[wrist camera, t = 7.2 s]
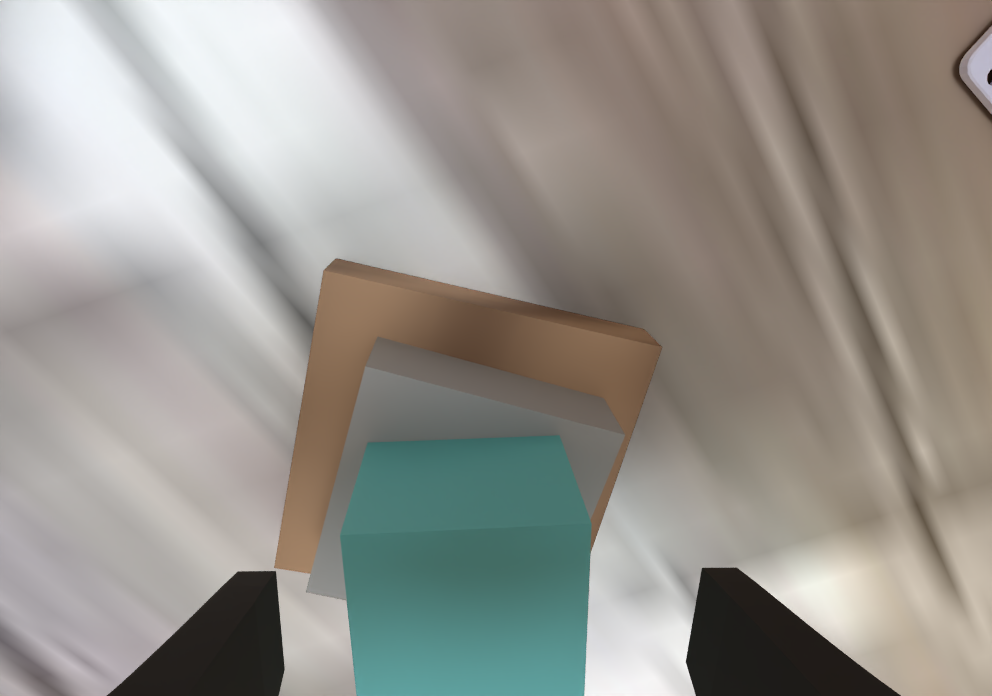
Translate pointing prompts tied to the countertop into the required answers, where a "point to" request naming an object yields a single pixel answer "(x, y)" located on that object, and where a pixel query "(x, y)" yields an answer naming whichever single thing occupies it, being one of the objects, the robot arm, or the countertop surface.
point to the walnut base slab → (453, 332)
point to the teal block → (467, 569)
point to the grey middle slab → (459, 427)
